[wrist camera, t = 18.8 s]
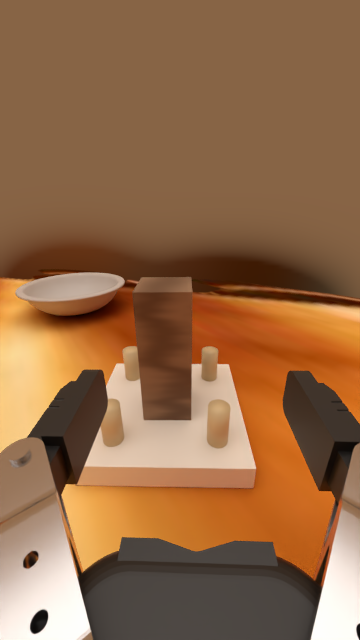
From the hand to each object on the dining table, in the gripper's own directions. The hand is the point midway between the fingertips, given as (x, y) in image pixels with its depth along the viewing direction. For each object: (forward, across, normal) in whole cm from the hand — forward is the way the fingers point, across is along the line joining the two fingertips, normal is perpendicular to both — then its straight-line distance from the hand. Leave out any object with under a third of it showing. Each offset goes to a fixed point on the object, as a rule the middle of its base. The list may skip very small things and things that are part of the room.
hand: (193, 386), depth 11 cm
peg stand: (+14, +3, +16) cm, 21 cm away
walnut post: (+14, +3, +13) cm, 19 cm away
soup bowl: (+49, +28, +16) cm, 59 cm away
